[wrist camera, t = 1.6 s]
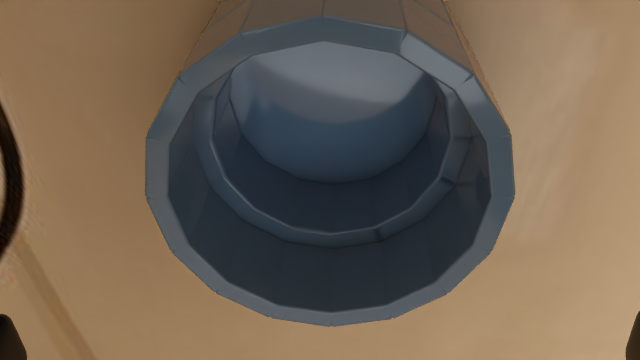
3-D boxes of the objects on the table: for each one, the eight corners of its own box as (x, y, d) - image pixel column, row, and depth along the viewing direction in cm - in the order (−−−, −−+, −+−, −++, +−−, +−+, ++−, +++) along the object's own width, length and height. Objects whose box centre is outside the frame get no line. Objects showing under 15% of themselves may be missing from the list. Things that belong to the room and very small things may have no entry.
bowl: (157, 121, 16) (91, 236, 12) (284, -117, 13) (254, -71, 9) (367, 232, 18) (373, 367, 14) (526, 48, 15) (596, 152, 11)
